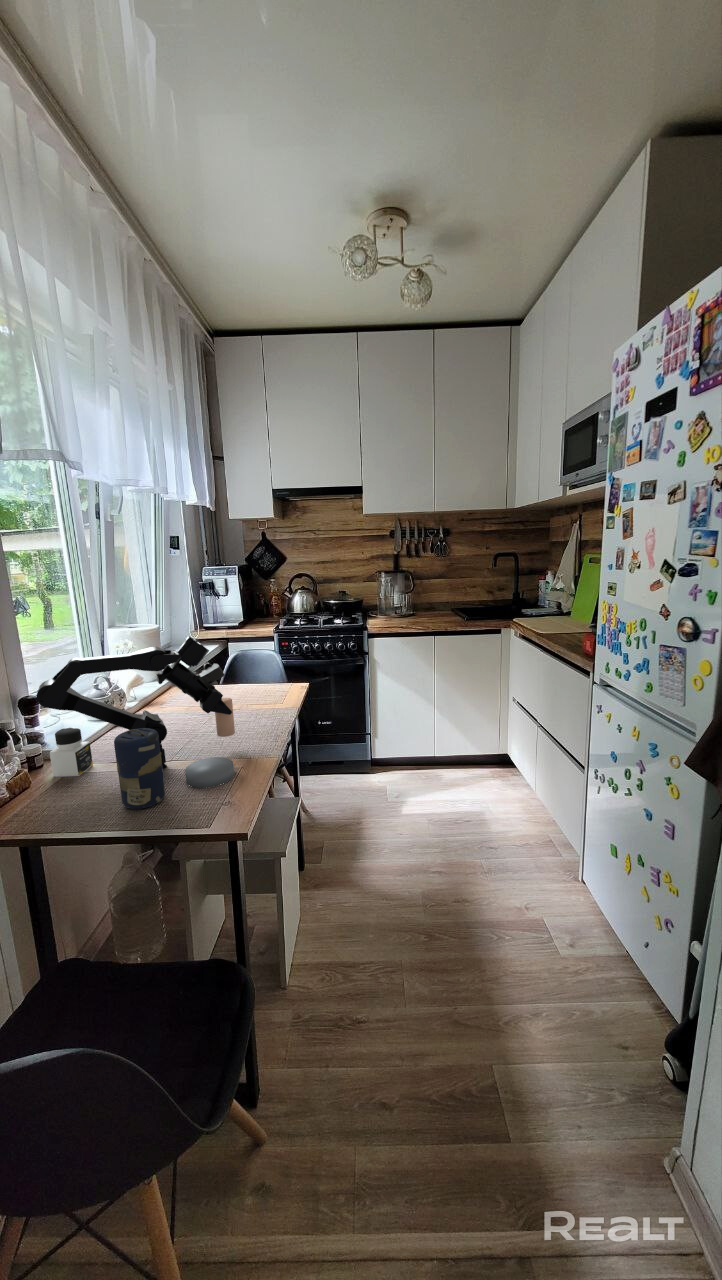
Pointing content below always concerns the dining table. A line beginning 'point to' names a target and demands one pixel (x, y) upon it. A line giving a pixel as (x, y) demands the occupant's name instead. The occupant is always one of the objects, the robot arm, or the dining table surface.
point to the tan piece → (225, 720)
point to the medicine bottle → (70, 753)
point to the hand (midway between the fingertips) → (228, 710)
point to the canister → (139, 768)
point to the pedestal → (209, 772)
